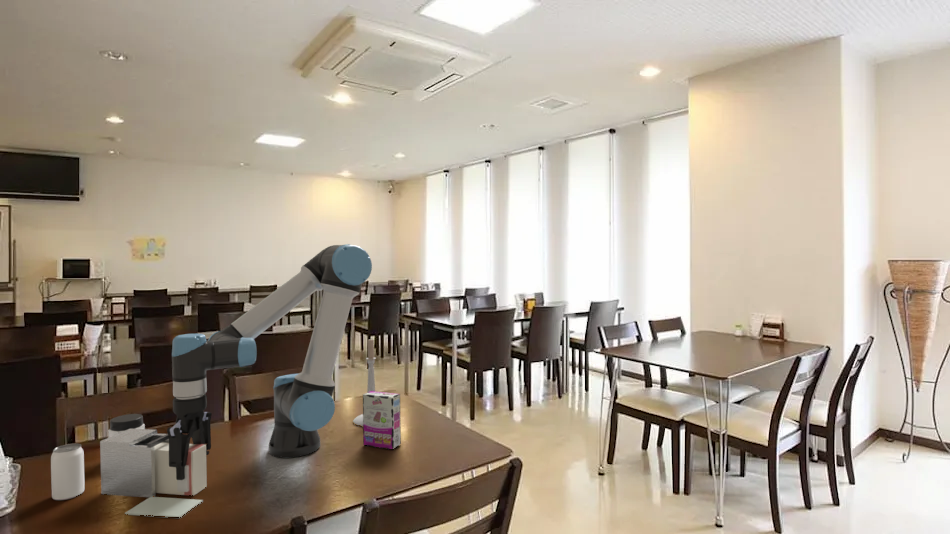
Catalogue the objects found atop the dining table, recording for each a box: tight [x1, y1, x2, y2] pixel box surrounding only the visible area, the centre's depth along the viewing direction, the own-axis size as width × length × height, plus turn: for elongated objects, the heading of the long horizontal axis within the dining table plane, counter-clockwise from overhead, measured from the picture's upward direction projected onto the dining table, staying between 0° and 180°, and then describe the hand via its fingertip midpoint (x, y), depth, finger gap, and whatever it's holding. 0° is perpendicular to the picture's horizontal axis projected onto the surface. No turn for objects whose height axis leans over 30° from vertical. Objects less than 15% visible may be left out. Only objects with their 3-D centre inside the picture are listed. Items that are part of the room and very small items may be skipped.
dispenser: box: [99, 428, 169, 498], centre depth 133 cm, size 14×9×14 cm
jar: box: [107, 413, 146, 438], centre depth 152 cm, size 9×8×12 cm
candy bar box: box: [362, 390, 402, 450], centre depth 162 cm, size 11×5×16 cm, turn 68°
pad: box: [124, 496, 204, 519], centre depth 123 cm, size 14×8×1 cm, turn 82°
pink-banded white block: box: [155, 442, 208, 497], centre depth 132 cm, size 14×5×11 cm, turn 82°
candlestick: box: [352, 338, 377, 426], centre depth 185 cm, size 13×13×30 cm
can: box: [50, 443, 85, 501], centre depth 129 cm, size 6×6×12 cm
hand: (191, 485), depth 131 cm, fingers closed on pink-banded white block, 5 cm apart
